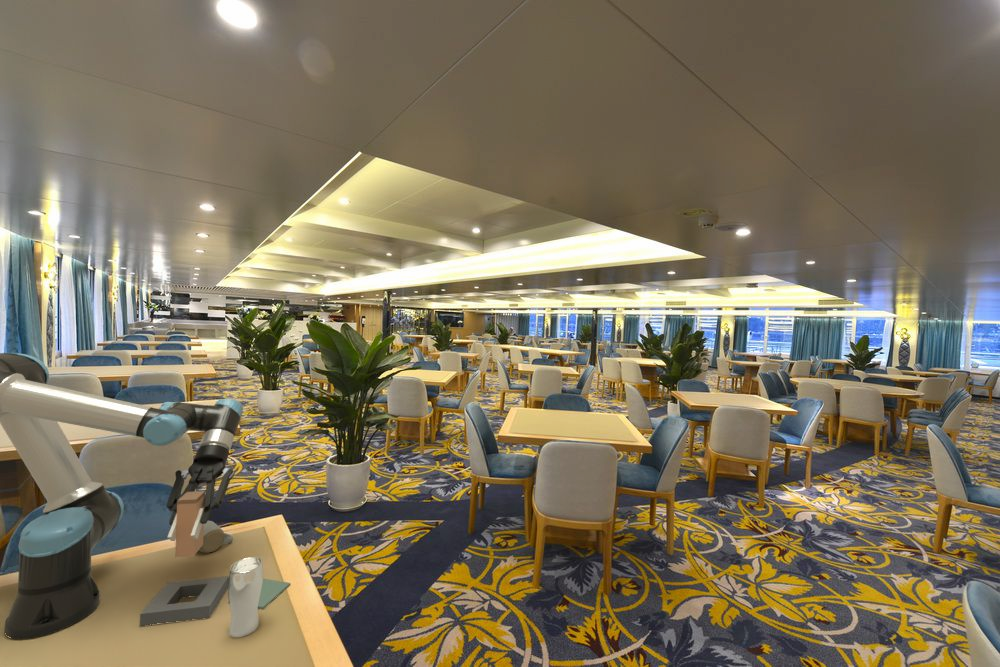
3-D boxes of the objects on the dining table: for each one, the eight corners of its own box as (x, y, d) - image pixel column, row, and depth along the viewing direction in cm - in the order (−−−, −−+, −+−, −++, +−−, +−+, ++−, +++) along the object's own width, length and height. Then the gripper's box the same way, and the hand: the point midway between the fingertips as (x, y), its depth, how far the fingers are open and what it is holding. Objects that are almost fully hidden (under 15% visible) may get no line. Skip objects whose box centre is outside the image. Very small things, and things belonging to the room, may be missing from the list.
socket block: (139, 626, 94) (140, 613, 94) (167, 593, 106) (167, 582, 106) (209, 618, 98) (209, 605, 98) (228, 587, 109) (228, 576, 109)
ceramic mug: (199, 558, 122) (201, 533, 122) (187, 549, 126) (189, 525, 126) (237, 544, 131) (238, 520, 131) (225, 536, 135) (226, 513, 135)
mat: (228, 603, 103) (228, 600, 103) (258, 579, 113) (258, 577, 113) (263, 609, 101) (263, 607, 101) (290, 585, 111) (290, 582, 111)
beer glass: (235, 644, 90) (237, 577, 90) (220, 630, 94) (222, 566, 94) (267, 625, 96) (269, 562, 96) (251, 613, 100) (254, 553, 100)
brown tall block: (175, 557, 99) (177, 500, 99) (185, 546, 104) (187, 491, 103) (194, 555, 100) (196, 499, 100) (203, 544, 105) (205, 491, 104)
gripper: (251, 455, 119) (226, 540, 103) (182, 457, 114) (146, 546, 98) (245, 442, 113) (219, 529, 98) (174, 443, 109) (133, 535, 93)
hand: (182, 538), depth 98 cm, fingers closed on brown tall block, 4 cm apart
